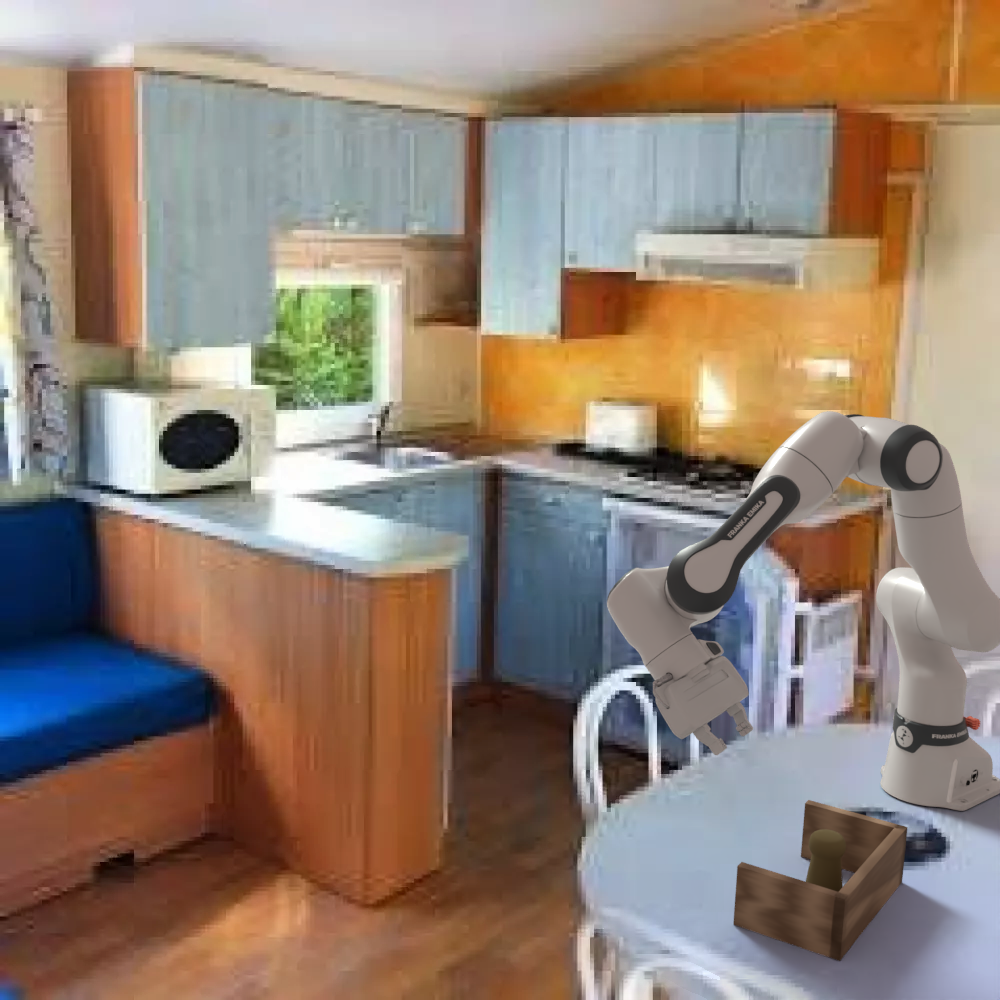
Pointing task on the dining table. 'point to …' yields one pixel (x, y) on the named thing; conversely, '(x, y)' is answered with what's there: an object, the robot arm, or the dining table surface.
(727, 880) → the dining table surface
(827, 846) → the olive brown pawn
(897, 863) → the open-fronted crate
